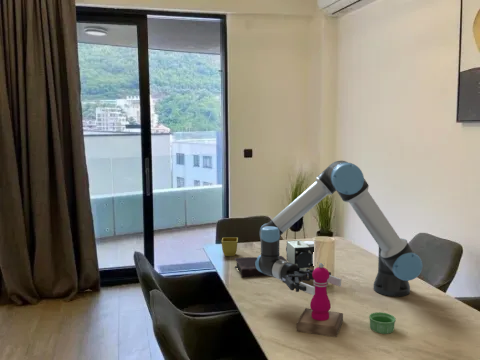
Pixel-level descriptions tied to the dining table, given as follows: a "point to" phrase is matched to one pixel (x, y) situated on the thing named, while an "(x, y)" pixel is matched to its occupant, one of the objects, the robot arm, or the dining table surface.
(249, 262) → the diary
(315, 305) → the pepper mill
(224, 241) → the flower pot
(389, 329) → the ramekin
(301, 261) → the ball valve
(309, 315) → the plinth
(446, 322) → the dining table surface
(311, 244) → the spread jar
